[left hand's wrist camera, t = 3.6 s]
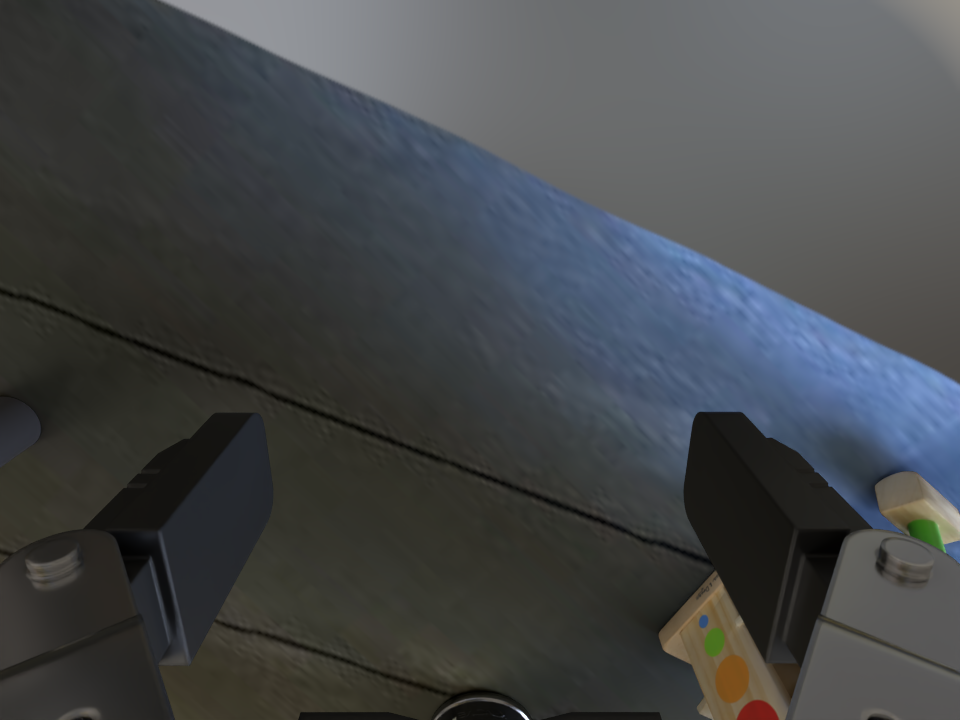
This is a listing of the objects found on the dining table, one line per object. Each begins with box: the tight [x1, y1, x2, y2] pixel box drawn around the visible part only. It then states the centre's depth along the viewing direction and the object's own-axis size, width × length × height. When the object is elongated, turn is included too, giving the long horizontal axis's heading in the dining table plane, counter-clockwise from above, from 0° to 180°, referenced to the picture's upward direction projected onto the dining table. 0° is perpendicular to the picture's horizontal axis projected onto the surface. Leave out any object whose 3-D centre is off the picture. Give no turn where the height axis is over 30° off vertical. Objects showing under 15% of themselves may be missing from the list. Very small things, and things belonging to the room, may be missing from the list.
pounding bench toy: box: [659, 471, 960, 720], centre depth 40 cm, size 23×14×18 cm, turn 149°
